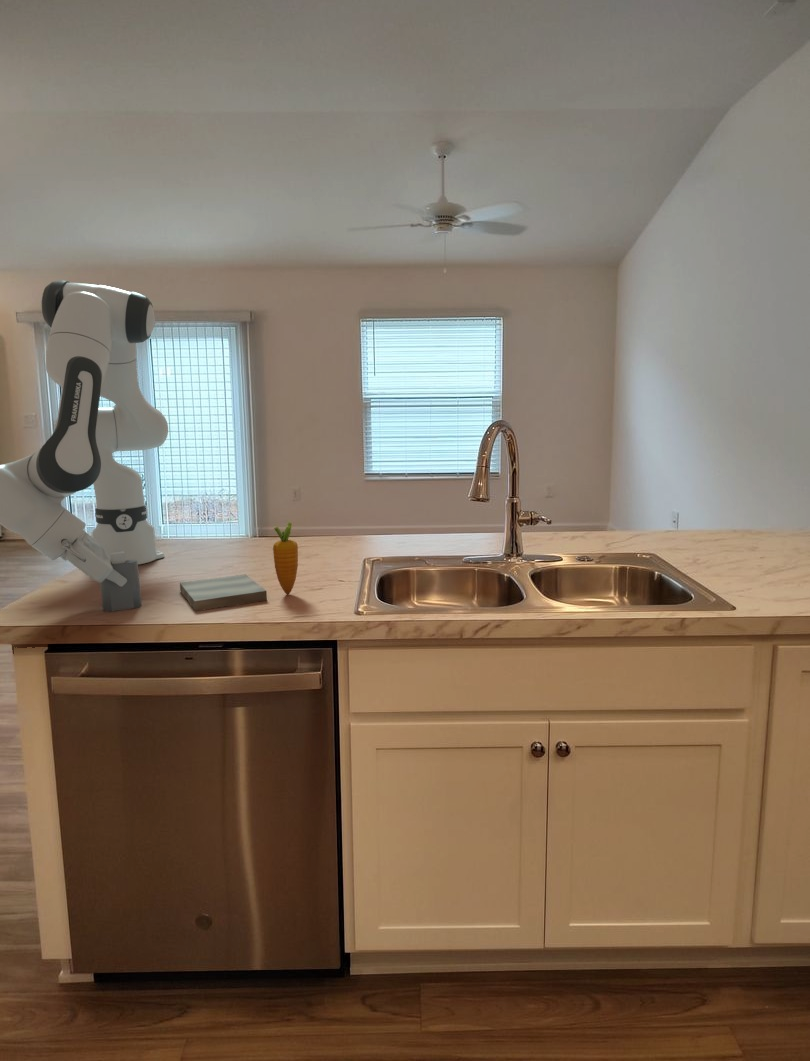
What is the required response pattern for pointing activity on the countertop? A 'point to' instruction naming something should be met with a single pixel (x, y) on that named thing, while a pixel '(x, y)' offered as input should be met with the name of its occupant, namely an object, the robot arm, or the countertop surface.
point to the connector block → (129, 592)
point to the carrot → (285, 559)
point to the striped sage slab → (222, 592)
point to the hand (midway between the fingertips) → (123, 580)
